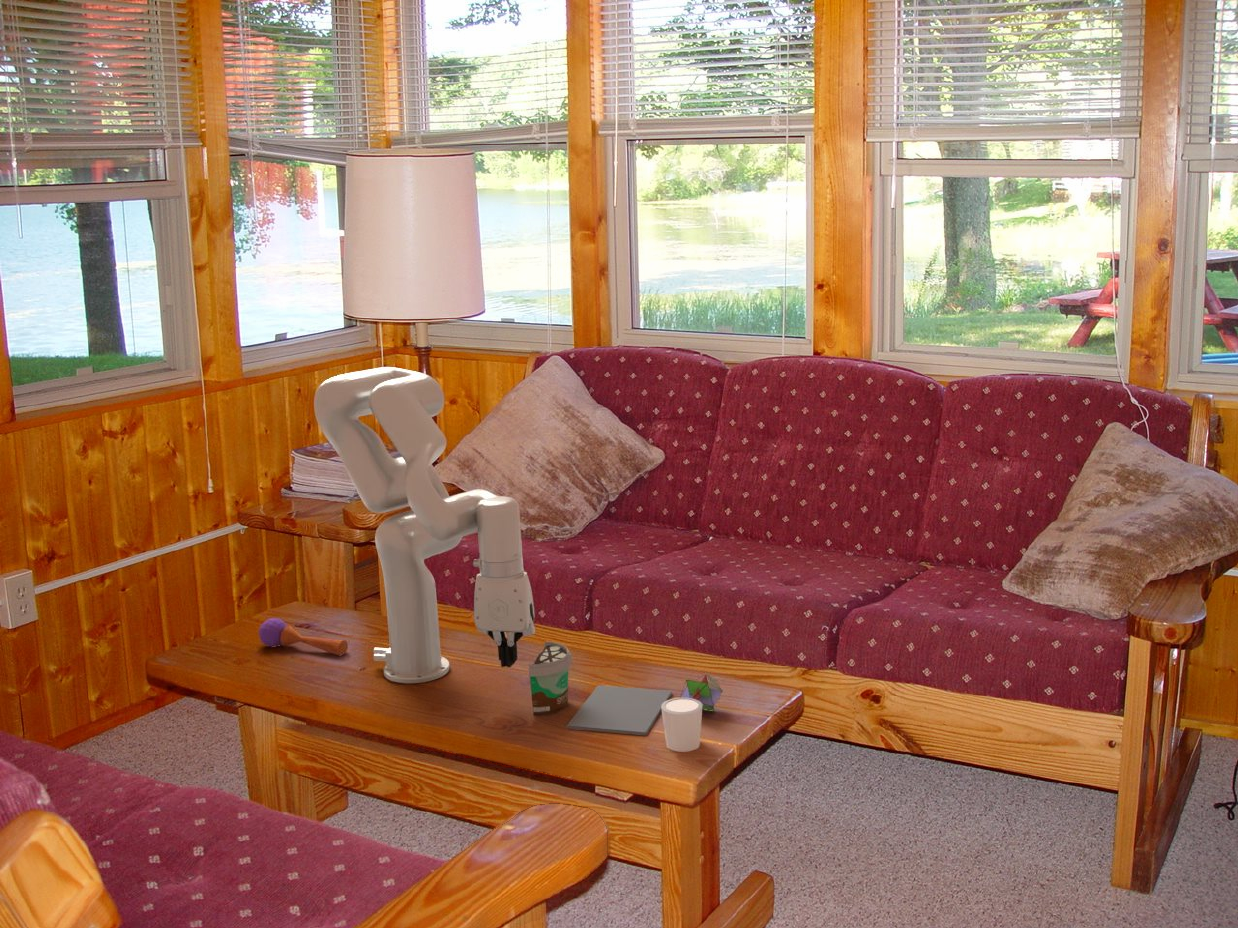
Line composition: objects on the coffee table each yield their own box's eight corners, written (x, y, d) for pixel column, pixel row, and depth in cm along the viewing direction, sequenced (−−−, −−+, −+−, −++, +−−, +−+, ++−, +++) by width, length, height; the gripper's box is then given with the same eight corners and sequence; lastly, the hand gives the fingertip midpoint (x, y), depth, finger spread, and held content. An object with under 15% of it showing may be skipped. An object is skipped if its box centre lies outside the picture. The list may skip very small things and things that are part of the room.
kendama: (332, 643, 263) (250, 625, 271) (336, 668, 265) (255, 649, 273) (349, 628, 268) (269, 610, 276) (353, 653, 270) (273, 635, 278)
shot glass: (668, 733, 224) (666, 695, 223) (708, 737, 222) (706, 698, 221) (657, 751, 218) (656, 711, 216) (698, 755, 216) (697, 715, 214)
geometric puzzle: (705, 715, 226) (716, 670, 228) (669, 709, 229) (680, 664, 232) (720, 726, 232) (730, 682, 234) (684, 720, 235) (695, 676, 237)
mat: (567, 728, 228) (566, 725, 228) (598, 688, 245) (598, 685, 245) (645, 735, 224) (645, 732, 224) (671, 693, 241) (671, 690, 241)
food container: (565, 720, 231) (562, 666, 229) (531, 719, 233) (527, 665, 230) (581, 692, 243) (578, 641, 241) (548, 691, 244) (545, 640, 242)
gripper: (454, 571, 233) (461, 669, 237) (534, 575, 229) (540, 675, 233) (471, 558, 240) (478, 654, 244) (548, 562, 236) (554, 659, 240)
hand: (508, 664), depth 239 cm, fingers closed
